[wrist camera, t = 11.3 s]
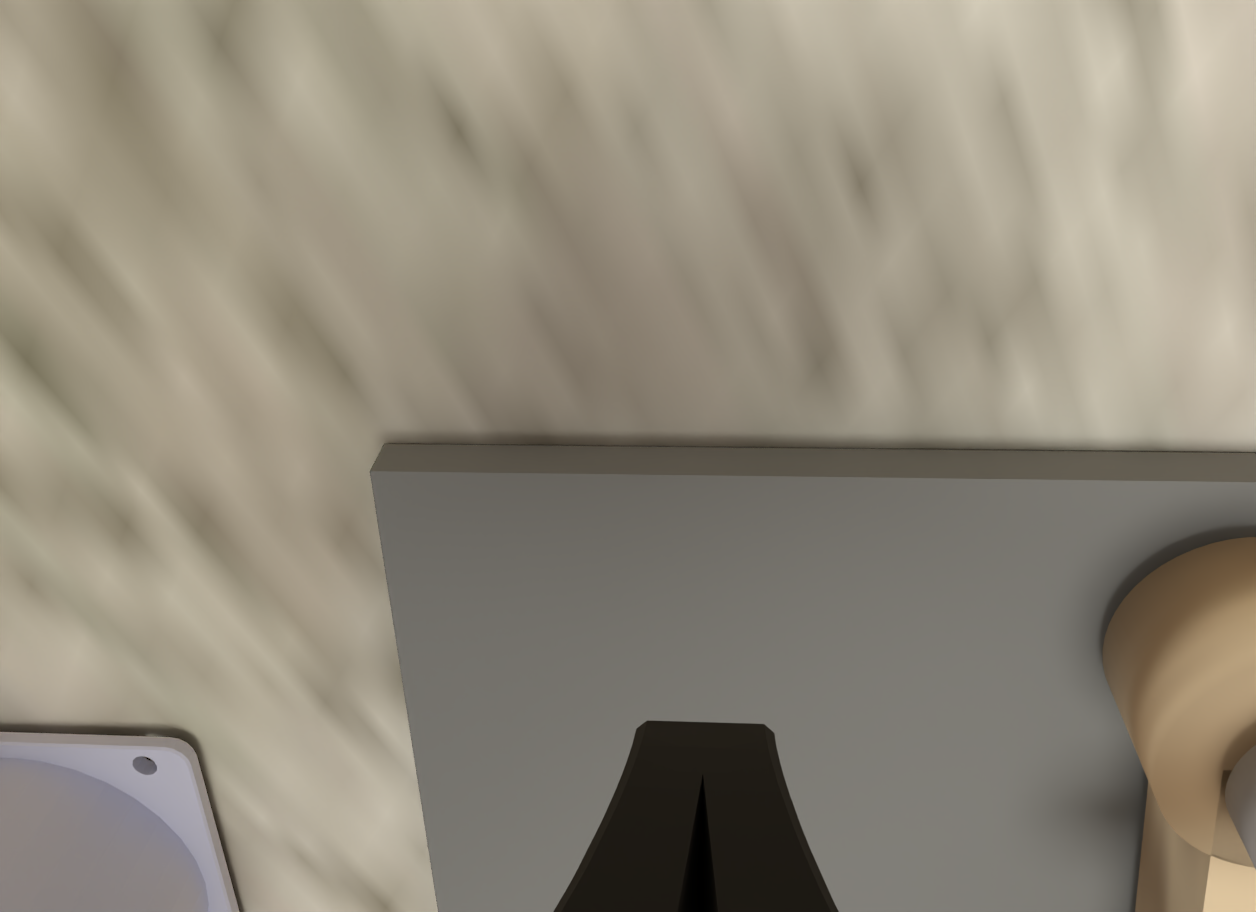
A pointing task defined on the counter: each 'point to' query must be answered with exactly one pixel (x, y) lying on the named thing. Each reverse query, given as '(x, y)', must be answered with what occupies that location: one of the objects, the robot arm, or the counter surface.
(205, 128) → the counter surface
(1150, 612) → the link
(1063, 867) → the base plate
